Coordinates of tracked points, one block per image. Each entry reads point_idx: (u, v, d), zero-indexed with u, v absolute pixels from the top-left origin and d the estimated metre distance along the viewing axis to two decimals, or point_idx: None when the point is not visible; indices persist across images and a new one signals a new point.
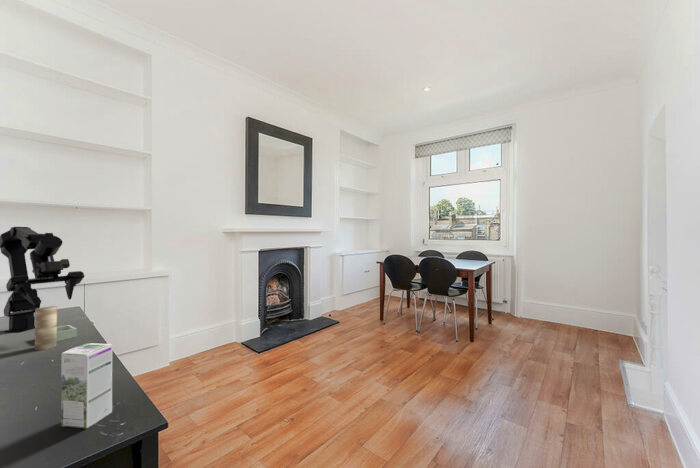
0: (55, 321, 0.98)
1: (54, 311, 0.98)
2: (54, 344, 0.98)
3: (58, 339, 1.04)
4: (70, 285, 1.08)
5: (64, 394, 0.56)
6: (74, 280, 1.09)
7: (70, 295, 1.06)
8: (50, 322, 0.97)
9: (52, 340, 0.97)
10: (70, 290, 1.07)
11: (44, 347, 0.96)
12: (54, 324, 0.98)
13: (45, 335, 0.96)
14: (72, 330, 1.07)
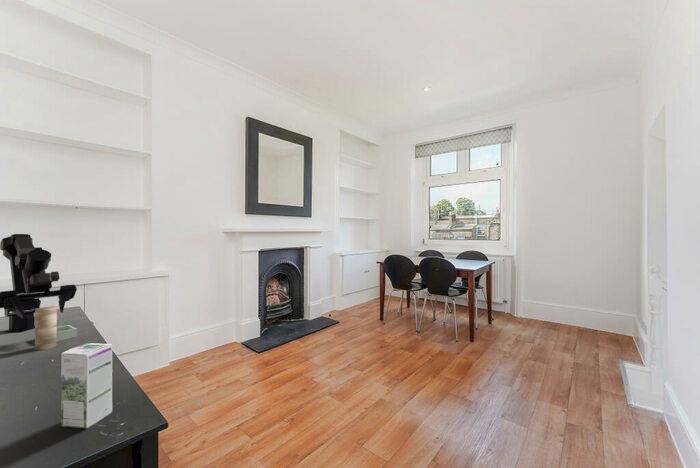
0: (55, 321, 0.98)
1: (54, 311, 0.98)
2: (54, 344, 0.98)
3: (58, 339, 1.04)
4: (62, 298, 1.05)
5: (64, 394, 0.56)
6: (66, 293, 1.06)
7: (62, 308, 1.03)
8: (50, 322, 0.97)
9: (52, 340, 0.97)
10: (62, 303, 1.04)
11: (44, 347, 0.96)
12: (54, 324, 0.98)
13: (45, 336, 0.96)
14: (72, 330, 1.07)
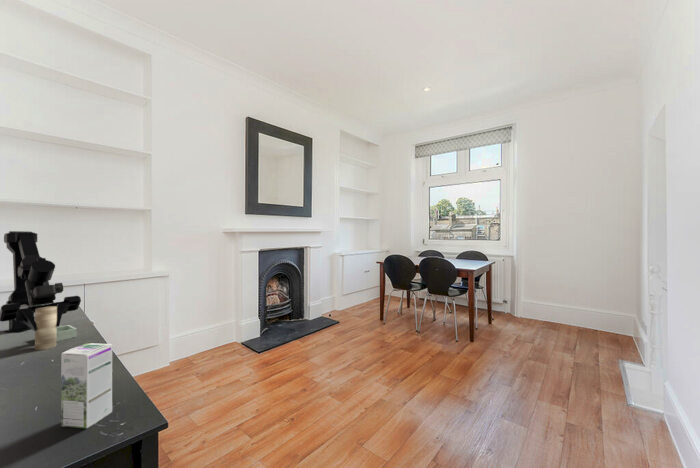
0: (55, 321, 0.98)
1: (54, 311, 0.98)
2: (54, 344, 0.98)
3: (58, 339, 1.04)
4: (58, 311, 1.01)
5: (64, 394, 0.56)
6: (62, 306, 1.02)
7: (58, 322, 0.99)
8: (50, 322, 0.97)
9: (52, 340, 0.97)
10: (58, 316, 1.00)
11: (44, 347, 0.96)
12: (54, 324, 0.98)
13: (45, 335, 0.96)
14: (72, 330, 1.07)
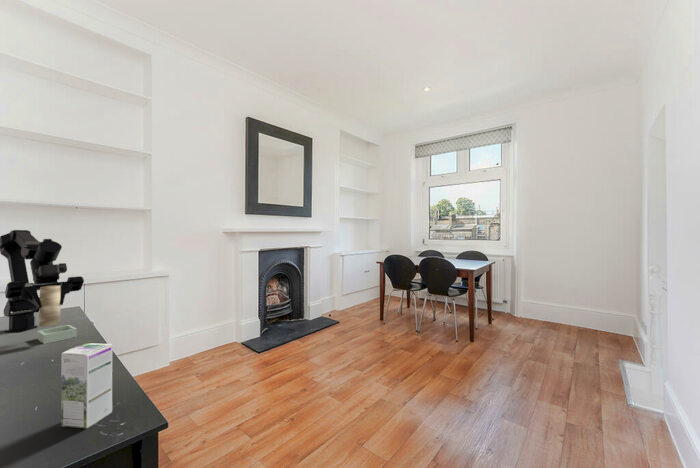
0: (59, 299, 1.02)
1: (58, 290, 1.01)
2: (58, 322, 1.01)
3: (58, 339, 1.04)
4: (62, 290, 1.04)
5: (64, 394, 0.56)
6: (66, 285, 1.05)
7: (62, 300, 1.03)
8: (53, 300, 1.00)
9: (56, 318, 1.01)
10: (62, 295, 1.03)
11: (48, 324, 0.99)
12: (57, 303, 1.01)
13: (49, 313, 0.99)
14: (72, 330, 1.07)
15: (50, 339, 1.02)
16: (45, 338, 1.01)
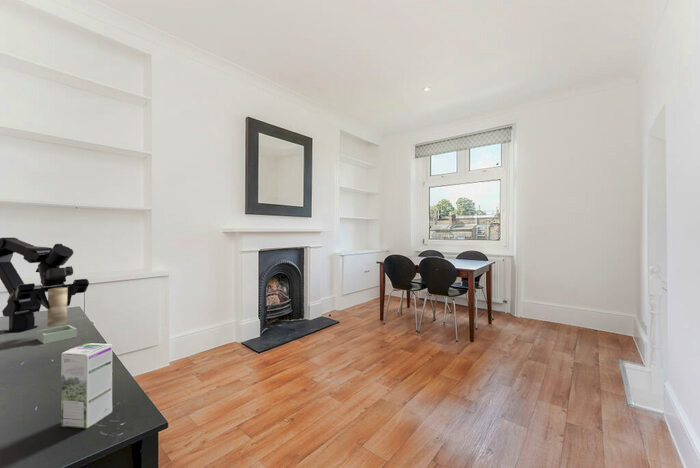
0: (66, 301, 1.07)
1: (65, 291, 1.07)
2: (65, 322, 1.07)
3: (58, 339, 1.04)
4: (68, 292, 1.10)
5: (64, 394, 0.56)
6: (72, 287, 1.11)
7: (68, 301, 1.08)
8: (61, 302, 1.06)
9: (63, 318, 1.06)
10: (68, 297, 1.09)
11: (56, 324, 1.05)
12: (65, 304, 1.07)
13: (57, 313, 1.05)
14: (72, 330, 1.07)
15: (50, 339, 1.02)
16: (45, 338, 1.01)
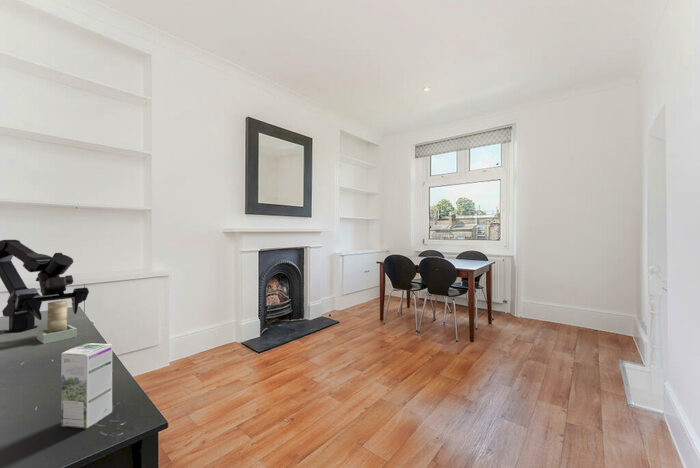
0: (66, 314, 1.07)
1: (65, 305, 1.07)
2: None
3: (58, 339, 1.04)
4: (75, 300, 1.11)
5: (64, 394, 0.56)
6: (79, 295, 1.13)
7: (75, 310, 1.10)
8: (61, 315, 1.06)
9: None
10: (75, 305, 1.11)
11: None
12: (64, 317, 1.07)
13: (57, 327, 1.05)
14: (72, 330, 1.07)
15: (50, 339, 1.02)
16: (45, 338, 1.01)
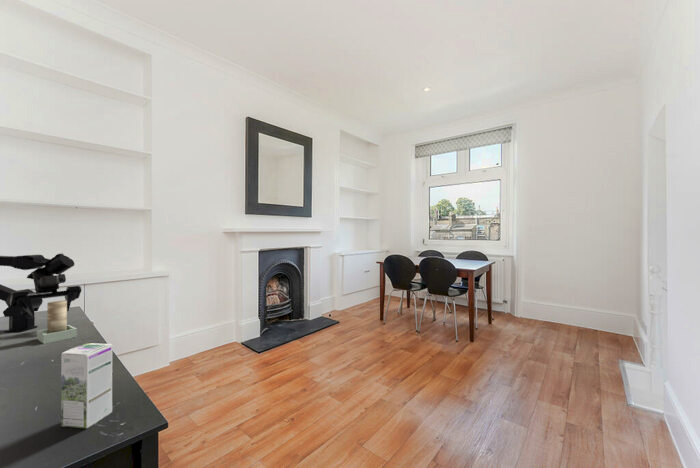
0: (65, 314, 1.07)
1: (64, 305, 1.07)
2: None
3: (58, 339, 1.04)
4: (68, 298, 1.16)
5: (64, 394, 0.56)
6: (71, 293, 1.17)
7: (68, 307, 1.14)
8: (60, 315, 1.05)
9: None
10: (68, 303, 1.15)
11: None
12: (64, 317, 1.07)
13: (57, 327, 1.05)
14: (72, 330, 1.07)
15: (50, 339, 1.02)
16: (45, 338, 1.01)
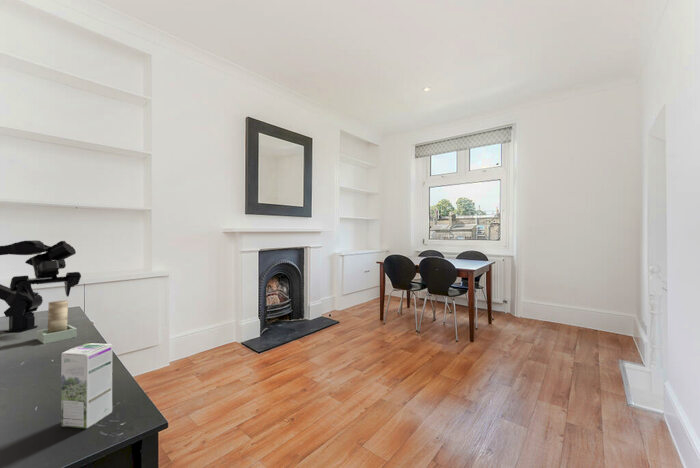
0: (66, 314, 1.07)
1: (65, 305, 1.07)
2: None
3: (58, 339, 1.04)
4: (68, 284, 1.17)
5: (64, 394, 0.56)
6: (71, 279, 1.18)
7: (68, 292, 1.15)
8: (61, 315, 1.06)
9: None
10: (68, 288, 1.16)
11: None
12: (65, 317, 1.07)
13: (57, 327, 1.05)
14: (72, 330, 1.07)
15: (50, 339, 1.02)
16: (45, 338, 1.01)
